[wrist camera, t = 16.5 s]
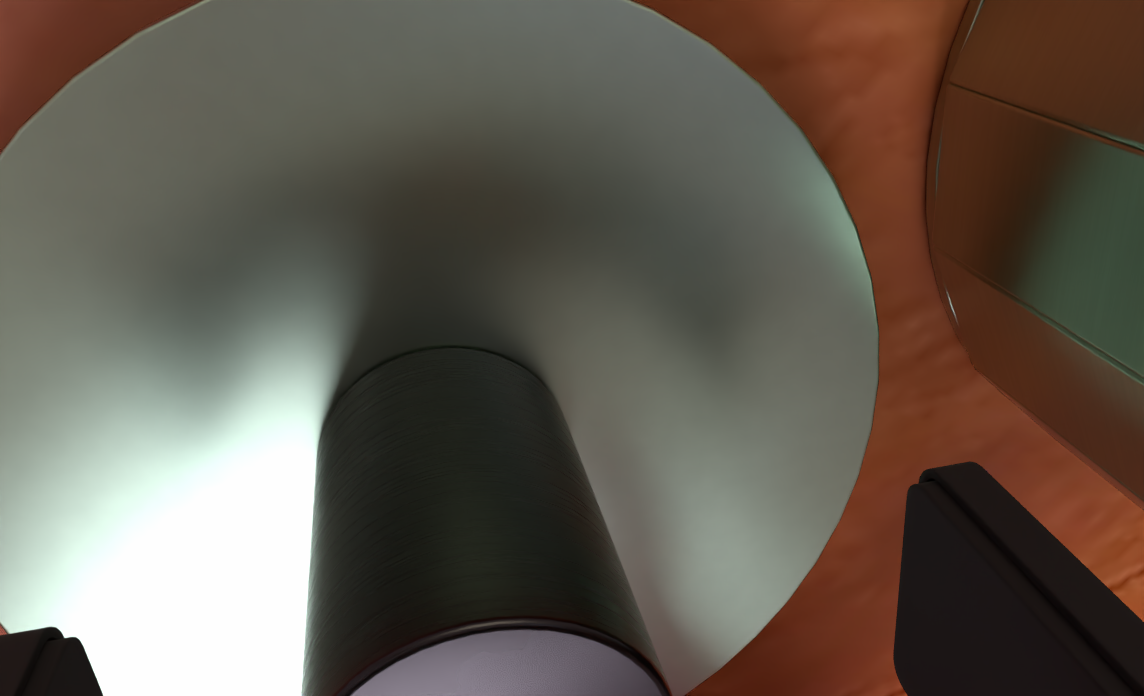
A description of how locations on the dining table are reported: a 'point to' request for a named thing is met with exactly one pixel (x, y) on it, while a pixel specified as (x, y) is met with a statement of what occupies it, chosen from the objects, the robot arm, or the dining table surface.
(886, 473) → the dining table surface
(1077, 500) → the dining table surface
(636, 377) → the lid
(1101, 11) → the pan
